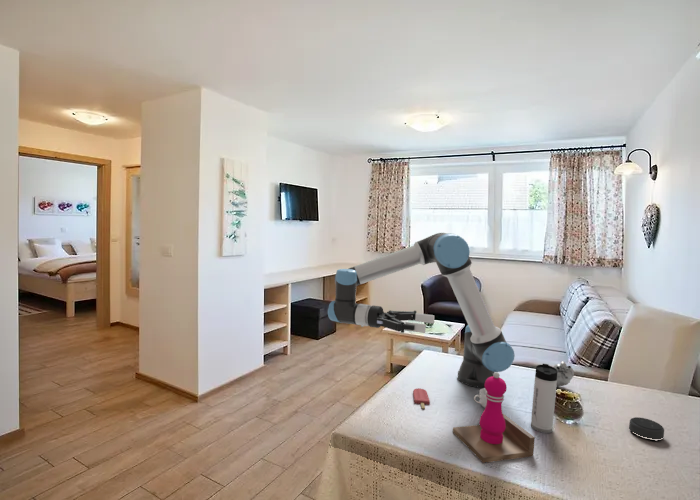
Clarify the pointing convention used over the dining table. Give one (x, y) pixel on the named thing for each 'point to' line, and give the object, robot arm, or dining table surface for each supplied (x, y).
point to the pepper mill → (493, 411)
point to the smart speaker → (646, 428)
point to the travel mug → (544, 398)
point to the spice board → (512, 447)
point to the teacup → (482, 397)
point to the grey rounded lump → (563, 374)
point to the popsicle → (421, 397)
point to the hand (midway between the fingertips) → (430, 323)
